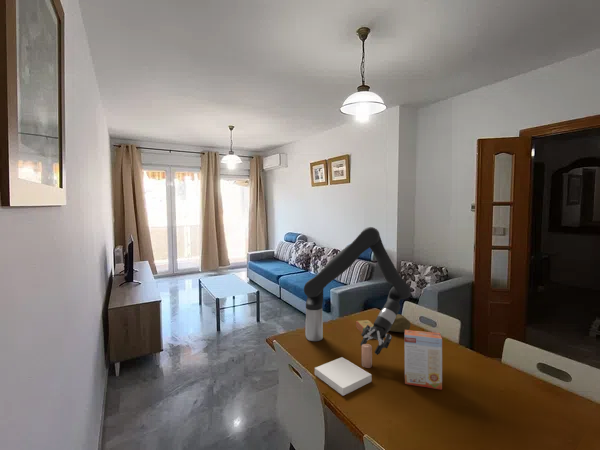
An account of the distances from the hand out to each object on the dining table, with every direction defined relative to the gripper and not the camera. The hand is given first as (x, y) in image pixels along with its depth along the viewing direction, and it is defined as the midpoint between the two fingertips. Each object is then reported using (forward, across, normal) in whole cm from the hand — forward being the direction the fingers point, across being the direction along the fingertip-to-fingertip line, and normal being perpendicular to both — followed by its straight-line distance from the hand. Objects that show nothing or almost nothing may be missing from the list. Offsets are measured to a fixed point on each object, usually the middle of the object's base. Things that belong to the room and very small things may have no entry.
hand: (368, 350), depth 136 cm
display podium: (+17, +1, -8) cm, 19 cm away
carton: (-14, -25, +24) cm, 37 cm away
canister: (+6, 0, +4) cm, 7 cm away
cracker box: (0, +23, +10) cm, 25 cm away
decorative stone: (-23, -16, +33) cm, 43 cm away
